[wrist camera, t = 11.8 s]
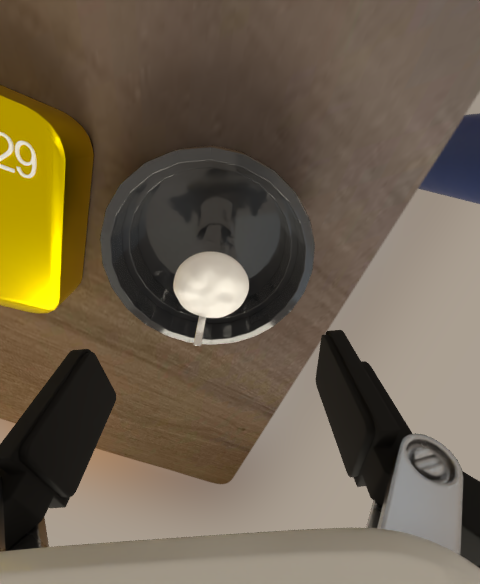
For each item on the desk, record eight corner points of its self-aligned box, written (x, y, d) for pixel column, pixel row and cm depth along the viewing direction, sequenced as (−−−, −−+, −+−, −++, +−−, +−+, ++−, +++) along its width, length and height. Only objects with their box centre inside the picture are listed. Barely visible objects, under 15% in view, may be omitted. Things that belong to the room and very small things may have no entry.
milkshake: (182, 264, 23) (158, 338, 14) (196, 208, 20) (176, 257, 12) (229, 277, 24) (232, 353, 15) (248, 225, 21) (264, 281, 13)
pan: (302, 138, 19) (325, 137, 14) (293, 305, 27) (306, 336, 22) (97, 154, 18) (60, 159, 14) (151, 318, 27) (137, 351, 22)
